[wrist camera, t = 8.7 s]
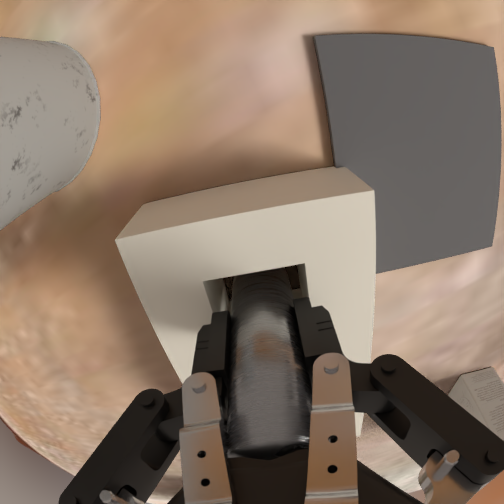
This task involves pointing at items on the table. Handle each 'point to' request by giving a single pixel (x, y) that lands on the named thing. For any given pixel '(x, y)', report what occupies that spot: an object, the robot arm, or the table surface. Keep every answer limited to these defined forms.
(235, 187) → the bore block
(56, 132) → the grey concrete cylinder
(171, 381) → the table surface
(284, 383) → the steel pin
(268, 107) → the table surface
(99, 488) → the robot arm
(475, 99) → the mat
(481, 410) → the small box
